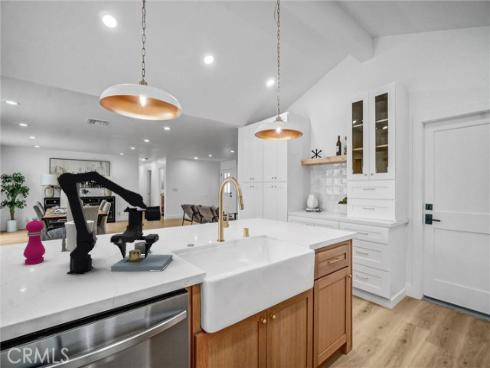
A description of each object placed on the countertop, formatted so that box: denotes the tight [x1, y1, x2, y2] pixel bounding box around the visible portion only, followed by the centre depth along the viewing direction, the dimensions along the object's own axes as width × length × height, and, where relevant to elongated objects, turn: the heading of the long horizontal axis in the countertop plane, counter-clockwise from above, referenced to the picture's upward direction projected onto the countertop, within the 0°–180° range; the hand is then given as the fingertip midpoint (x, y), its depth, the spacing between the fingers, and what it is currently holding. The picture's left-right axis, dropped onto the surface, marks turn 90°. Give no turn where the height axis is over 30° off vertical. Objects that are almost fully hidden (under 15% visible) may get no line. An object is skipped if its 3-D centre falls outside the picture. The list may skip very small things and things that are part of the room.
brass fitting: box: [128, 249, 140, 263], centre depth 104 cm, size 4×4×6 cm
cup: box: [64, 219, 95, 254], centre depth 105 cm, size 11×11×18 cm
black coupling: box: [133, 241, 151, 255], centre depth 122 cm, size 7×7×5 cm
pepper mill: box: [23, 216, 46, 266], centre depth 105 cm, size 7×7×20 cm
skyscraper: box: [60, 199, 84, 253], centre depth 127 cm, size 8×8×28 cm
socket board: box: [110, 254, 174, 272], centre depth 104 cm, size 20×16×2 cm
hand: (134, 258), depth 104 cm, fingers open, 9 cm apart
